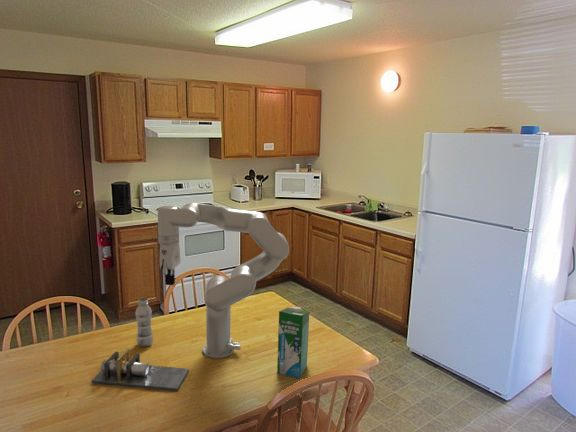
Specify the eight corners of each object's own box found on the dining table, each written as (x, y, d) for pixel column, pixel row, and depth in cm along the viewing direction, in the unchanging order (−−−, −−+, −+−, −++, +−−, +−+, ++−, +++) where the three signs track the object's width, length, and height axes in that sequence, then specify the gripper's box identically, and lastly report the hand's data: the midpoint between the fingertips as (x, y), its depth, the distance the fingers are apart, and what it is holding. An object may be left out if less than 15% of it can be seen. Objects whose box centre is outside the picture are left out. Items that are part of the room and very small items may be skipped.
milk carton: (307, 365, 162) (309, 305, 157) (300, 378, 154) (302, 315, 148) (285, 361, 165) (287, 301, 159) (277, 373, 156) (278, 311, 151)
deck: (189, 371, 156) (188, 368, 155) (177, 391, 144) (177, 388, 144) (109, 364, 158) (109, 361, 158) (91, 383, 147) (91, 380, 146)
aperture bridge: (130, 367, 155) (129, 348, 154) (120, 379, 148) (119, 359, 146) (128, 366, 155) (127, 348, 154) (117, 379, 148) (116, 359, 146)
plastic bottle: (155, 341, 176) (154, 296, 172) (149, 349, 170) (147, 303, 165) (141, 340, 177) (139, 295, 173) (133, 348, 170) (131, 302, 166)
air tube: (149, 371, 153) (148, 360, 152) (144, 378, 149) (143, 367, 148) (107, 367, 154) (106, 356, 153) (101, 374, 150) (100, 363, 149)
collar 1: (119, 365, 156) (118, 351, 154) (108, 378, 148) (107, 363, 147) (116, 365, 156) (115, 351, 155) (105, 378, 148) (104, 363, 147)
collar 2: (140, 367, 155) (139, 353, 154) (130, 380, 147) (129, 365, 146) (136, 367, 155) (136, 353, 154) (126, 380, 147) (126, 365, 146)
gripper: (171, 244, 151) (172, 292, 155) (185, 234, 165) (185, 278, 169) (151, 243, 151) (152, 290, 155) (166, 233, 166) (167, 276, 170)
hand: (170, 284), depth 162 cm, fingers closed
